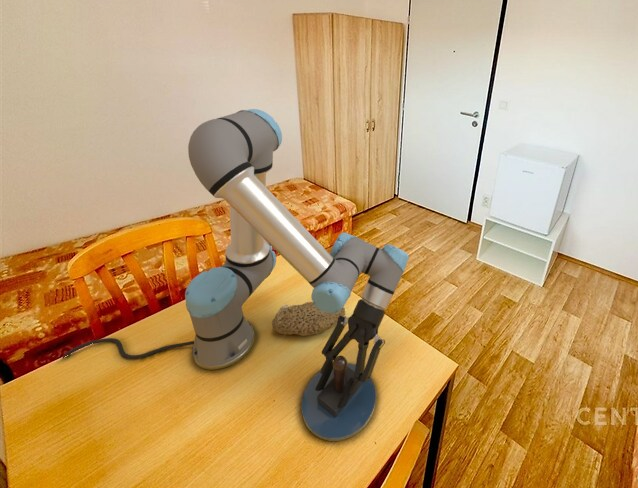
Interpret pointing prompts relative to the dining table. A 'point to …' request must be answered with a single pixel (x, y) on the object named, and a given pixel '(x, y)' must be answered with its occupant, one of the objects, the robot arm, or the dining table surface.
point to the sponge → (304, 319)
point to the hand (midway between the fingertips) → (330, 397)
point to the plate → (347, 419)
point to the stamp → (336, 386)
